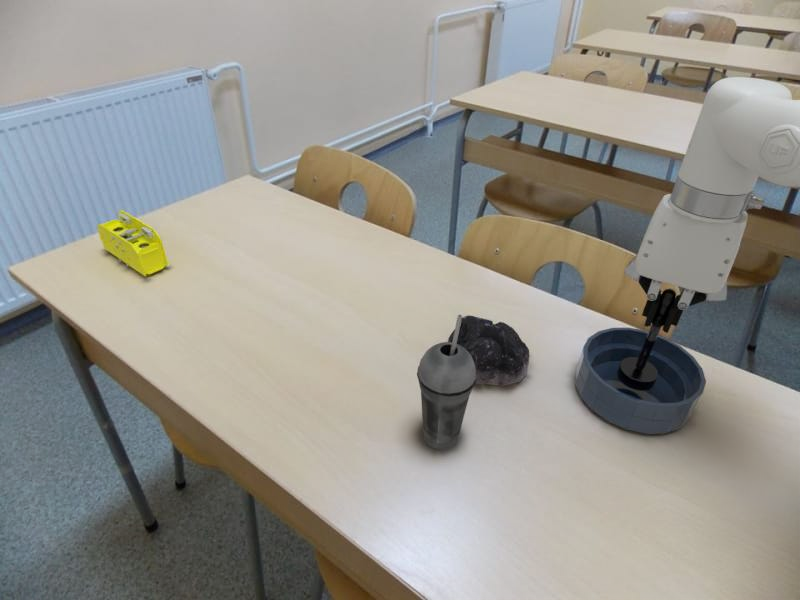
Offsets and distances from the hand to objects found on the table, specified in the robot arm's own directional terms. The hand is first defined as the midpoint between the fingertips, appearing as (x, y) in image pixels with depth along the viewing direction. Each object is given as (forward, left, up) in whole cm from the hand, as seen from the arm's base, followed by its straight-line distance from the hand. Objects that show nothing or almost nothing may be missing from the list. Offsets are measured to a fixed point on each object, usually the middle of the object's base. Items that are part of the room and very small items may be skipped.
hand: (657, 323), depth 69 cm
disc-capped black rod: (0, 0, -10) cm, 10 cm away
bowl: (0, 0, -13) cm, 13 cm away
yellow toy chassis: (+63, +70, -13) cm, 95 cm away
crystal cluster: (+13, +17, -13) cm, 25 cm away
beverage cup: (+2, +30, -13) cm, 33 cm away
